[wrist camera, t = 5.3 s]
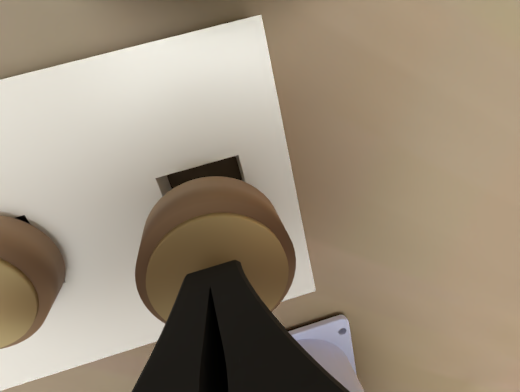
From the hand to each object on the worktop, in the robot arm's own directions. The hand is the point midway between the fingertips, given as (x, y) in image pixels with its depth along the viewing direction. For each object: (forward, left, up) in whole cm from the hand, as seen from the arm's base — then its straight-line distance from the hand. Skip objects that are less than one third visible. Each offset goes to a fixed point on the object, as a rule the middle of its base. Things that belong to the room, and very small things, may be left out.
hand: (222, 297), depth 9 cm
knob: (0, 0, -6) cm, 6 cm away
